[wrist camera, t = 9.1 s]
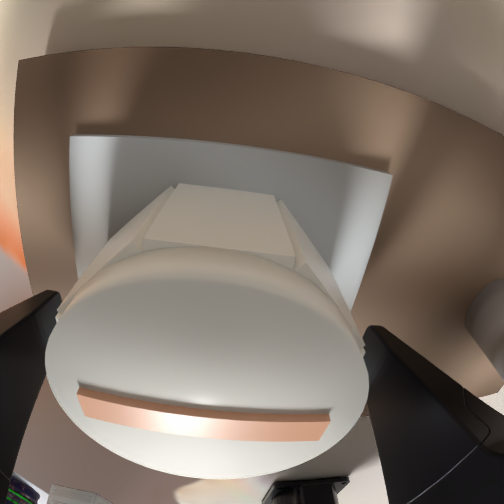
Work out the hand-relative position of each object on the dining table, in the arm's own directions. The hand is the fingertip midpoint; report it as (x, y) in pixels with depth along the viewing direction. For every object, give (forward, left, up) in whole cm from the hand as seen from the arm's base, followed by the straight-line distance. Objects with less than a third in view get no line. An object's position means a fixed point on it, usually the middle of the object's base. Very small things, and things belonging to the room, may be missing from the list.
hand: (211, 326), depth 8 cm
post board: (0, -6, -3) cm, 7 cm away
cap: (0, 0, -1) cm, 1 cm away
